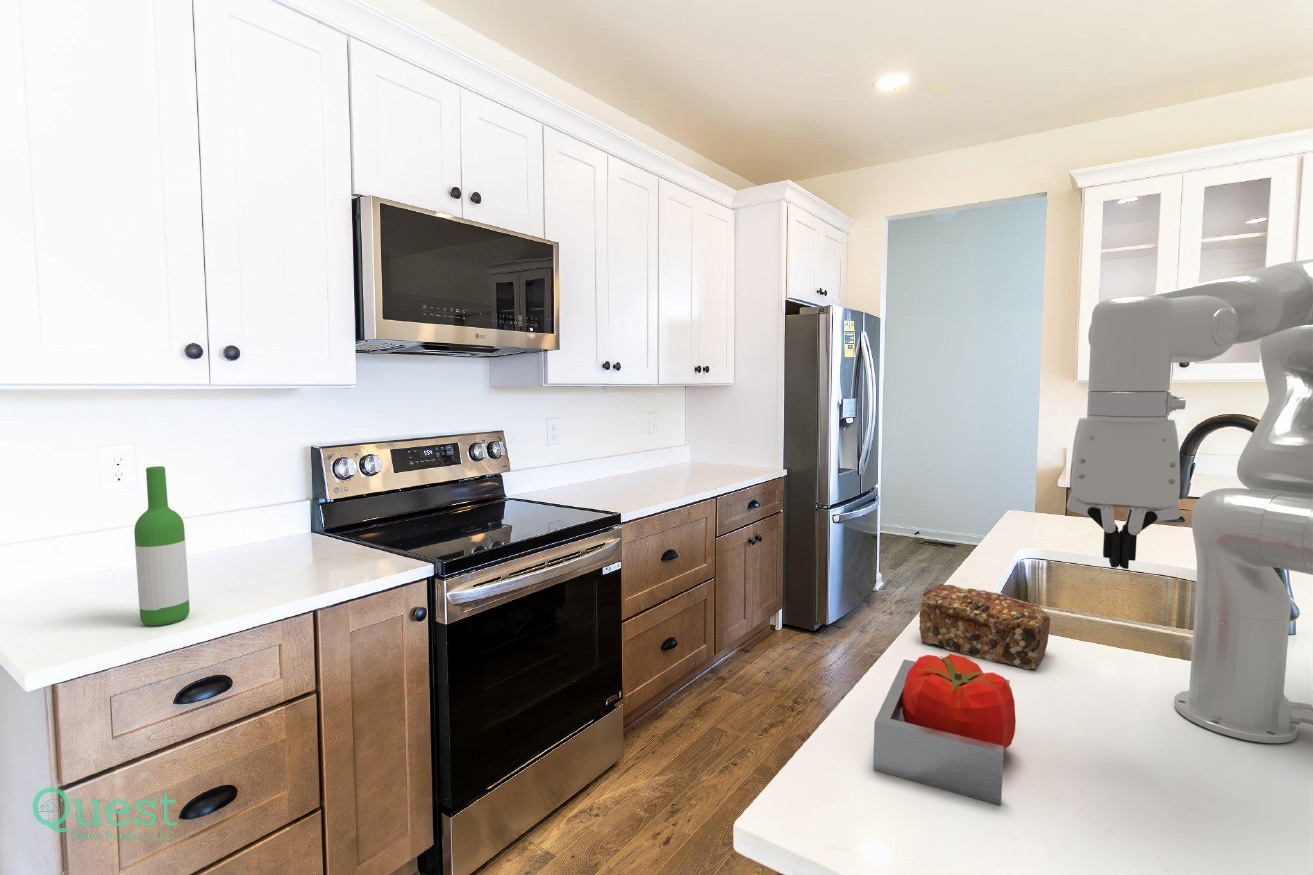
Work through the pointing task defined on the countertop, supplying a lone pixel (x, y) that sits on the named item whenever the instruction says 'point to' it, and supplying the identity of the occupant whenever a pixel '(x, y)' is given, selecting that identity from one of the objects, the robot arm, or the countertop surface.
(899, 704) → the grey u-shaped bracket
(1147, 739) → the countertop surface
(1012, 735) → the tomato
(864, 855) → the countertop surface
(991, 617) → the bread
